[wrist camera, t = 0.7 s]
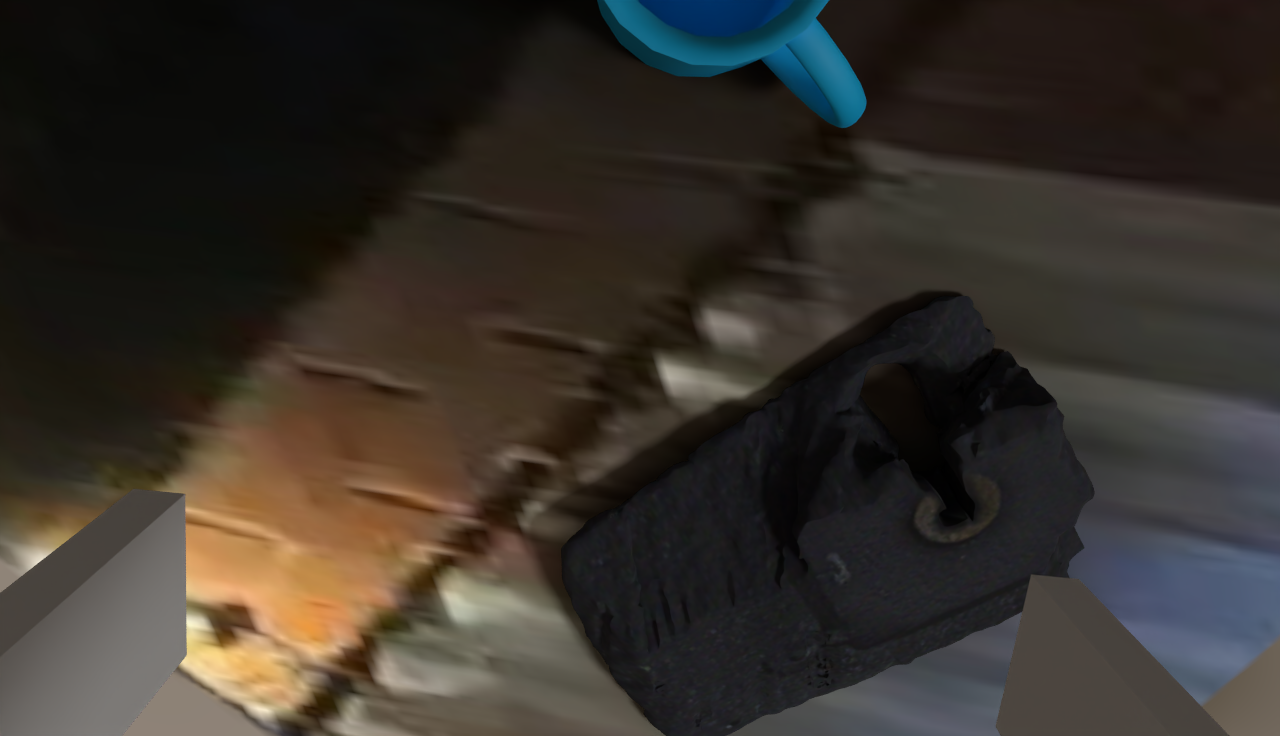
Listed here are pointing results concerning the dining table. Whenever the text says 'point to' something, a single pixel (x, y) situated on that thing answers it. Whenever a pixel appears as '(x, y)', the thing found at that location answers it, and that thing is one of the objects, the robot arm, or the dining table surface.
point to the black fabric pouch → (831, 534)
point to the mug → (742, 45)
